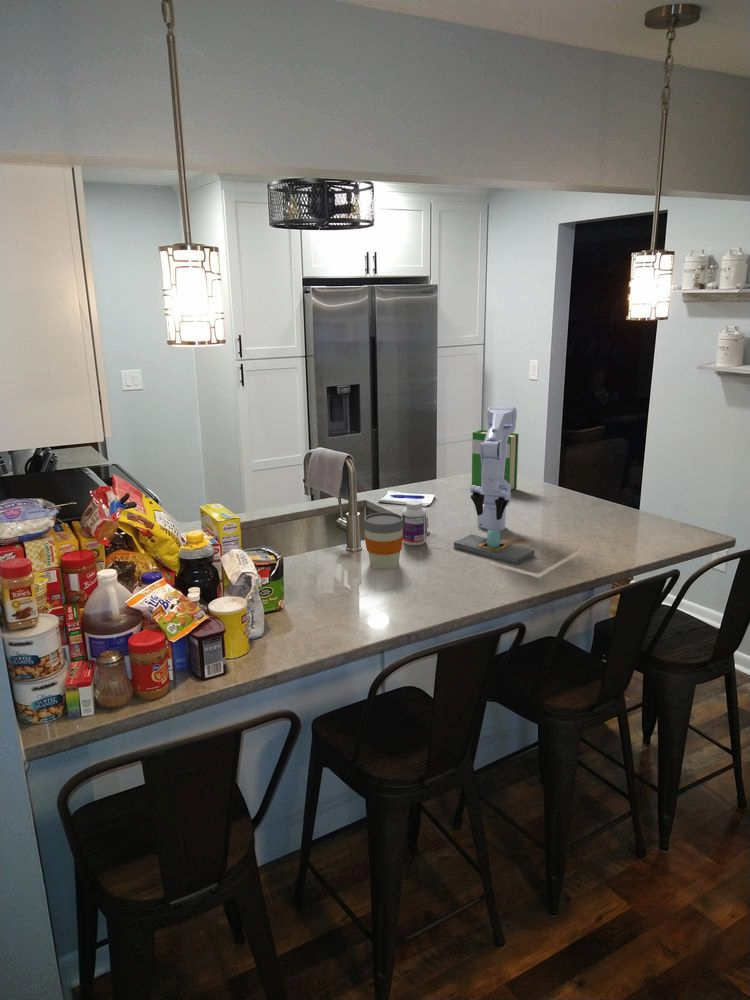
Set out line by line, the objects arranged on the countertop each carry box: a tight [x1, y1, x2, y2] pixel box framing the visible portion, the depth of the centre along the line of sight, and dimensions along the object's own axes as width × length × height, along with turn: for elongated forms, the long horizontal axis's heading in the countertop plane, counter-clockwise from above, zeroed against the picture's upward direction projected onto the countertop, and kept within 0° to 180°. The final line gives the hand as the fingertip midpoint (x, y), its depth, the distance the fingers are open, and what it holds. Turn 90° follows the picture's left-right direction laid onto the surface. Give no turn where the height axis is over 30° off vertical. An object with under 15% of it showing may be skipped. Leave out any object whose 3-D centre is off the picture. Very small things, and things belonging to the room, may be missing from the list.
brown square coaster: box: [500, 535, 532, 547], centre depth 238 cm, size 8×8×1 cm
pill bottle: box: [401, 499, 427, 547], centre depth 239 cm, size 8×8×14 cm
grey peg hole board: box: [453, 533, 535, 569], centre depth 228 cm, size 24×10×3 cm, turn 48°
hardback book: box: [471, 429, 519, 490], centre depth 302 cm, size 18×7×24 cm, turn 52°
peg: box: [486, 529, 501, 549], centre depth 228 cm, size 4×4×8 cm
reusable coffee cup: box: [363, 512, 404, 570], centre depth 221 cm, size 13×13×15 cm
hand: (489, 516), depth 236 cm, fingers open, 7 cm apart
